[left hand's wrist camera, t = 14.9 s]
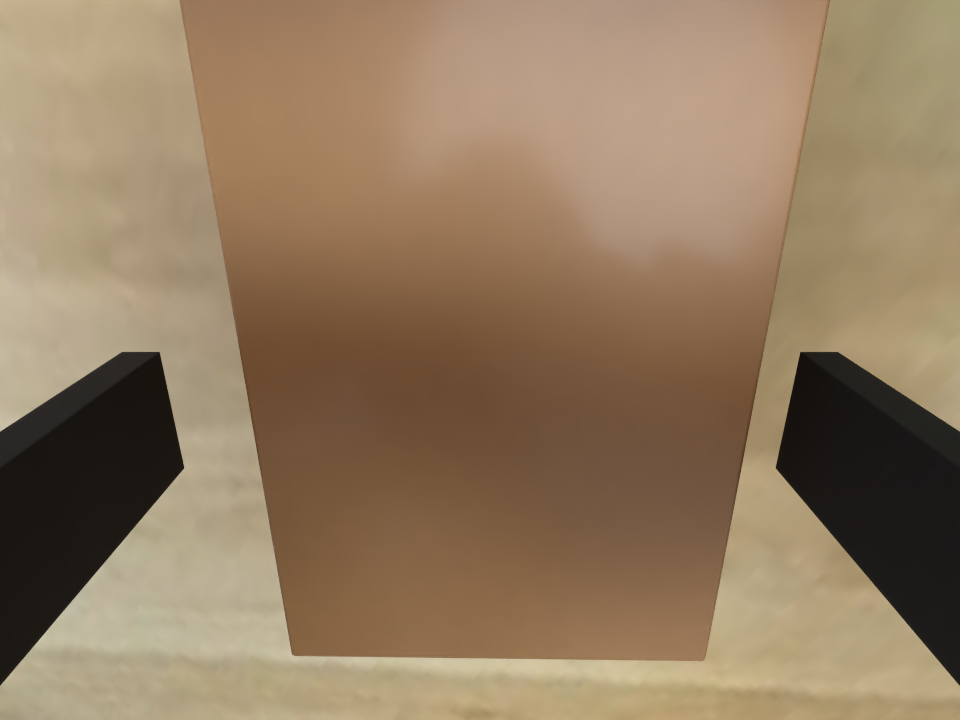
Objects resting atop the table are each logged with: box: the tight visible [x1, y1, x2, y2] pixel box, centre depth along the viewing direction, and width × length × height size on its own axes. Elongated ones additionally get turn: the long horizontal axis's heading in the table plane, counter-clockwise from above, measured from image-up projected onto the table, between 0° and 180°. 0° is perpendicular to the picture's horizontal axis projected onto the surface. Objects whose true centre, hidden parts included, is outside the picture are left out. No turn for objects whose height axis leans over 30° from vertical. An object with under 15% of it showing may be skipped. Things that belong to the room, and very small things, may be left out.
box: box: [180, 0, 830, 661], centre depth 13 cm, size 22×8×12 cm, turn 0°
